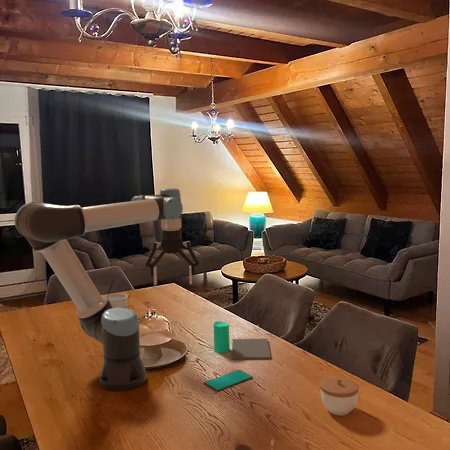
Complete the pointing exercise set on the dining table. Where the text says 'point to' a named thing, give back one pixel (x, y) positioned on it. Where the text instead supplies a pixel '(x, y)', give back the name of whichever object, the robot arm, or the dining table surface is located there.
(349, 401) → the lidded jar
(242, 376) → the smartphone
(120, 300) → the ramekin
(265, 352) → the mat
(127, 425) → the dining table surface
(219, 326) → the candle
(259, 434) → the dining table surface
